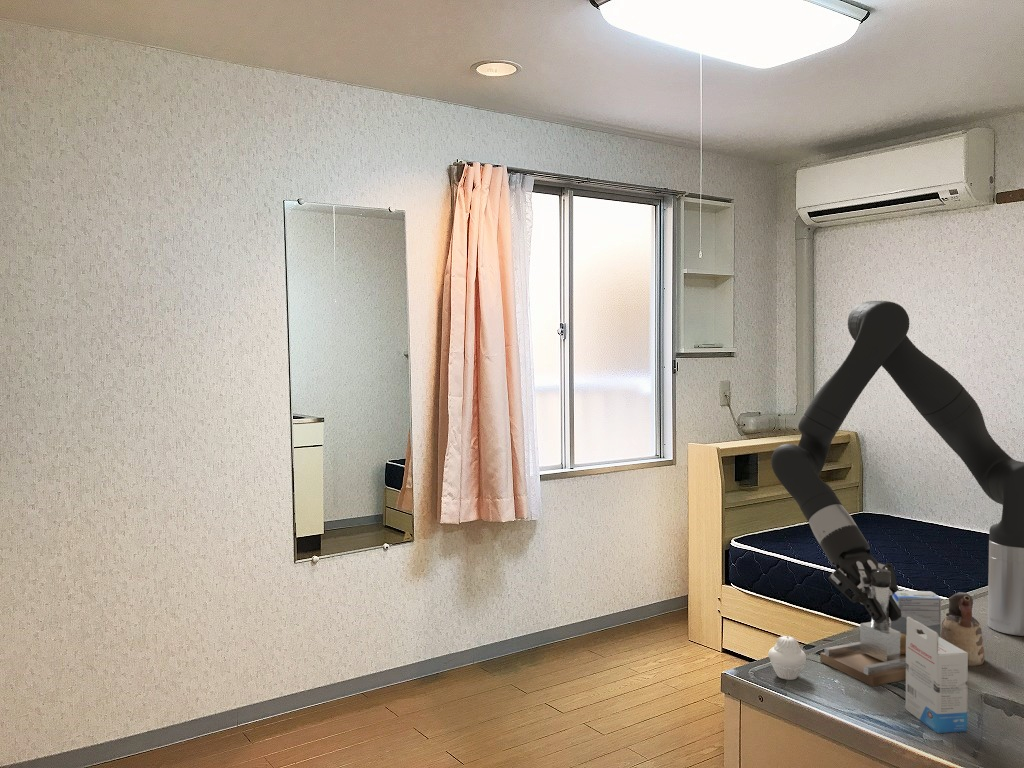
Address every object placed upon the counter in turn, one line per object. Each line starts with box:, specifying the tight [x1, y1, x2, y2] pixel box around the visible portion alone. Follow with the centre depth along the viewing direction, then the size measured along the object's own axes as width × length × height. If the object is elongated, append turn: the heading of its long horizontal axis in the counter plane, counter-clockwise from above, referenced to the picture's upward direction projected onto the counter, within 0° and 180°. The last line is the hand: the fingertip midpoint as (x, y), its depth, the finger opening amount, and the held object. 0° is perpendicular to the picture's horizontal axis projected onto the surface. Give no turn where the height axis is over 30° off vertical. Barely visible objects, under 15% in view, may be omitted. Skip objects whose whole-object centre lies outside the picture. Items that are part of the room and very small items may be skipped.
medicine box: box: [889, 590, 942, 637], centre depth 159 cm, size 8×4×9 cm, turn 84°
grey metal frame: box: [824, 611, 942, 675], centre depth 146 cm, size 18×10×6 cm, turn 112°
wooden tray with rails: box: [819, 633, 906, 687], centre depth 146 cm, size 18×12×5 cm, turn 112°
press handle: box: [859, 569, 900, 662], centre depth 145 cm, size 3×6×15 cm, turn 22°
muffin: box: [767, 635, 807, 681], centre depth 141 cm, size 6×6×7 cm
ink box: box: [905, 617, 969, 734], centre depth 124 cm, size 9×5×15 cm, turn 5°
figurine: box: [940, 591, 985, 667], centre depth 149 cm, size 7×7×12 cm
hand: (889, 619), depth 143 cm, fingers closed on press handle, 3 cm apart
